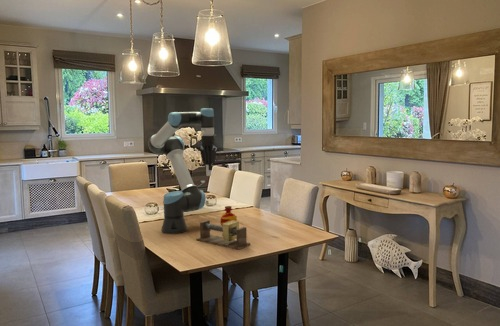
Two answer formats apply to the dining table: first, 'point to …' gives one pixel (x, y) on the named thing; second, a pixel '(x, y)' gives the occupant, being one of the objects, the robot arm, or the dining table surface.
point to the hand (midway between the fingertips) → (208, 175)
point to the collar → (227, 230)
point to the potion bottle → (228, 216)
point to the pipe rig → (218, 240)
